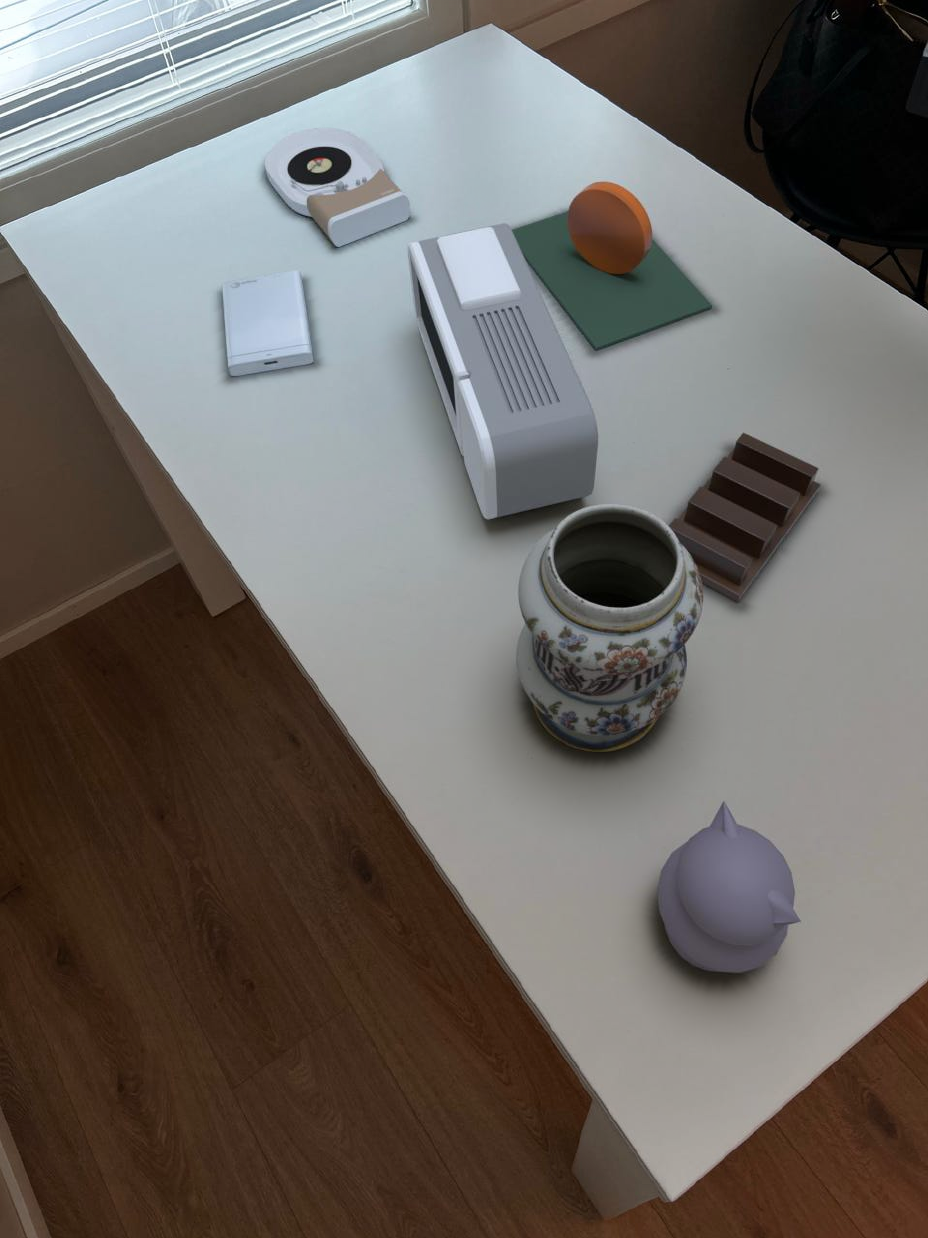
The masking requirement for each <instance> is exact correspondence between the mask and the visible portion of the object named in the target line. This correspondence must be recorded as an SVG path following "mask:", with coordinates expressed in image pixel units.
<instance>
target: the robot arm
mask: <svg viewBox="0 0 928 1238" xmlns="http://www.w3.org/2000/svg"><path fill="white" fill-rule="evenodd" d="M905 110H906V111H907V112H909V113H910V114H915V115H917V116H920V117H922V118H923V117H924V118H927V119H928V42H927V43H926V45H925V48H924V50H923V53H922V56H921V59H920V62H919V65H918V68H917V71H916V74H915V76H914V79H913V83H912V85H911V88H910V91H909V94H908V98H907V100H906V104H905Z"/></svg>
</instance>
